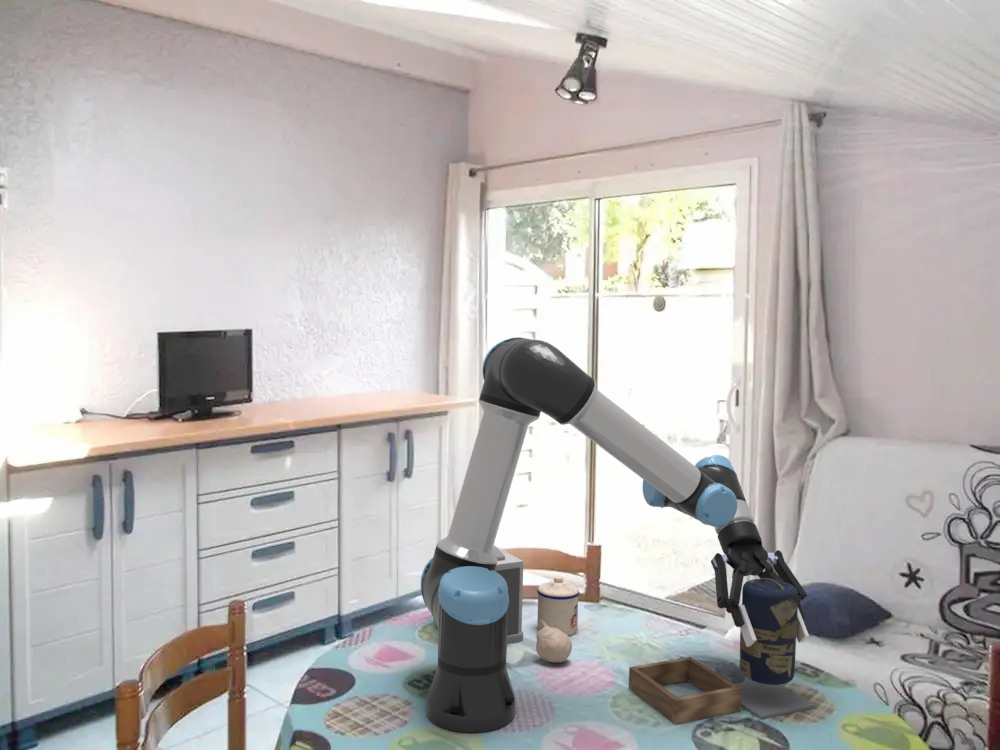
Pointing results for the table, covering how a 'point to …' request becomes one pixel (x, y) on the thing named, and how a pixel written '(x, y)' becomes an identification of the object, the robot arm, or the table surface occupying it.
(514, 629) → the alarm clock
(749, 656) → the canister
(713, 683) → the holder
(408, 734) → the table surface
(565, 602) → the teacup with lid
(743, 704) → the mat
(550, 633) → the garlic bulb
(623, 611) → the table surface
